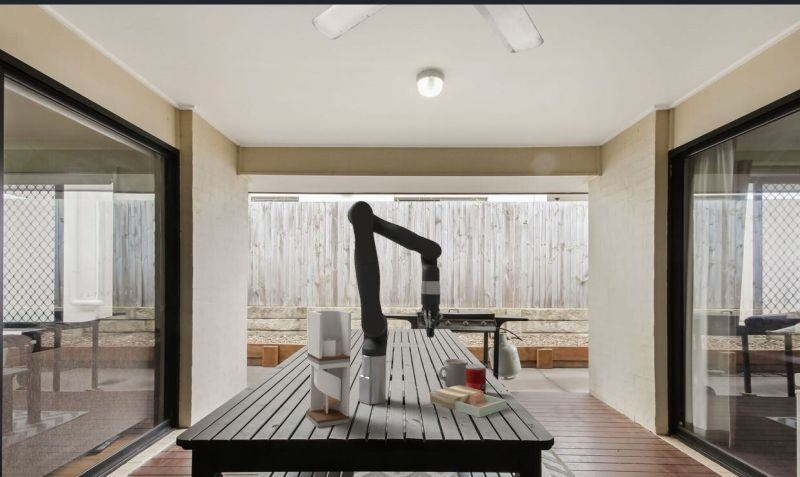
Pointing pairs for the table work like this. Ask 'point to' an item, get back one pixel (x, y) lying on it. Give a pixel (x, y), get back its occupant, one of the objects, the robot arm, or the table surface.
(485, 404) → the tile front
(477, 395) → the tile back
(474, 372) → the canned food
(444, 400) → the plate
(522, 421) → the table surface
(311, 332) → the display case
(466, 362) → the coffee mug
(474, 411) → the tray
